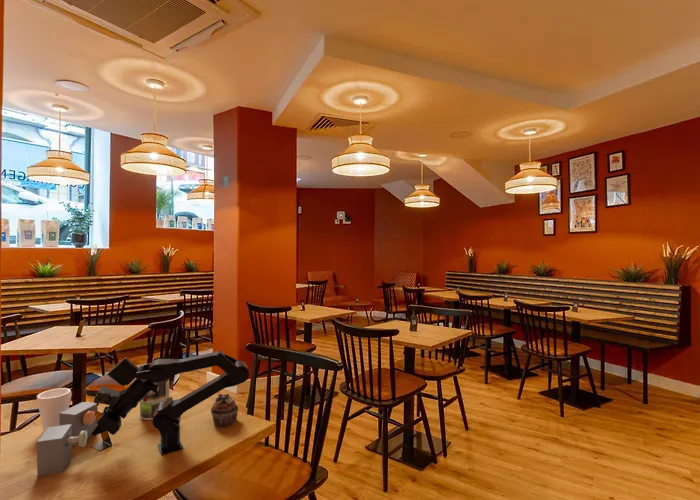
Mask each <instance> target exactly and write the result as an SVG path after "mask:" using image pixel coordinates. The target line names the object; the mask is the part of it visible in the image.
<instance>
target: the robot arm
mask: <svg viewBox="0 0 700 500" xmlns="http://www.w3.org/2000/svg"><path fill="white" fill-rule="evenodd" d="M216 366H217V367H219V368H220V369H221V370H222V371H223V372H221V374H220V375H219V376H217V377H215V378H214V379H212V380H209V381H208V382H205V384H202V385H201V386H199V387H198V388H195V389H194V390H192V391H191V392H189V393H187V394H186V395H184V396H182V397H180V398H177V399H173V397H172V396H169V398H168V399H167V400H166V401H164V402H160V404H159V406H158V407H157V408H156V410H155V413H154V416H153V420H151V421H152V422H151V423H152V425H153V427H154V428H155V429H157V430H158V432H159V435H160V443H158V444H157V448H158V450H159V451H160V455H165V454H169V453H173V452H176V451H179V450H182V449H184V445H183V444H182V441H181V425H180V424H181V419H182V418H181V417H182V415H183V414H184V413H185V412H187V411H189V410H190V409H192V408H193V407H195V406H197V405H199V404H201V403H202V402H204V401H206V400H207V399H209V398H211V397H212V396H214V395H215V394H218V393H219V392H221V391H222V390H224V389H227V388H230V387H236V386H238V385H240V384H243V383H245V382H246V381H248V379H249V376H250V370H249V368H248V364H247V362H245V361H243V360H240V359H239V360H237V359H236V358H234V357H232V356H231V355H228V354H226V353H225V352H223V351H222V350H216V351H214V352H209V353H204V354H200V355H194V356H189V357H184V358H180V359H179V358H178V359H175V358H157V359H155V360H153V361H152V362H150V363H146V364H142V365H139V366H138V365H136V364H135V363H133V362H132V361H131V359H129V358H128V357H127V356H125V357H124V358H123V359H121V360H120V361H119V362H117V363H116V364H115V365H114V366H113V367H112V368H111V369H110V370H109V371H108V372H107V377H109V378H111V379H112V380H113V381H114V382H116V383H117V384H119V385H120V386H121V387H122V386H123V387H125V386H128V385H129V386H128V387H126V388H123V389H122V390H121V391H118V390H116V389H112V388H109V387H106V386H101V387H99V389H98V391H97V393H96V394H95V396H94V398H93V403H97V404H102V405H106V406H105V407H104V408H103V410H102V412H101V414H100V416H99V418H98V421H97V424H98V425H97V426H96V428H95V429H94V430H93V432H92V433H91V435H92V437H95V436H98V435H100V434H102V433H105V432H108V433H109V434H110V435H112V436H115V434H117V433H118V432H119V431H120V429H121V427H122V419H123V420H124V419H125V418H126V417H127V416H128V414H129V413H130V412H131V411H132V410H133V409H135V408H136V407H138V404H140V401H141V400H142V399H143V398H144V397H145V396H146V395H147V394H148V393H149V392H150V391H151V390H152V391H153V392H154V393H155V394H157V393H158V390H159V387H158V386H159V382H161V381H164V380H167V379H169V380H170V379H171V378H173V377H175V376H177V375H179V374H183V373H187V372H192V371H197V370H202V369H206V368H212V367H216Z"/></svg>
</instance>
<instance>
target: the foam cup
mask: <svg viewBox="0 0 700 500" xmlns="http://www.w3.org/2000/svg"><path fill="white" fill-rule="evenodd" d="M71 391H72V390H71V389H70V388H67V387H58V388H53V389H48V390H45V391H43V392H40V393H38V394H37V395H36V403H37V405H38V411H39V415H40V420H41V421H40V422H41V426H42V431H43V433H44V432H45V431H46V430H47V428H48V427H54V426H60V420H59V413H61V412H63V411H65V410H67V409H69V408H70V401H71V397H72V395H71V393H72V392H71Z"/></svg>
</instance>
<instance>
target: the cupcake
mask: <svg viewBox="0 0 700 500" xmlns="http://www.w3.org/2000/svg"><path fill="white" fill-rule="evenodd" d="M238 412H239V406H238V405H237V403H236V401H235V400H234V398H232V396H230V394H228V393H227V394H224V395H223V394H218V395H217V396H216V397H215V400H214V402H213V404H212V406H211V407H210V413H211V417H212V421H213V424H214V426H215V427H217V428H226V427H230V426H233V425H235V423H236V422H237V418H238ZM232 424H233V425H232Z"/></svg>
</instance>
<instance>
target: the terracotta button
mask: <svg viewBox="0 0 700 500" xmlns="http://www.w3.org/2000/svg"><path fill="white" fill-rule="evenodd" d="M95 419H96V416H95V411H87V412H86V413H85V414H84V415H83V419H82V422H83V424H84V425H91V424H92V423H93V422H94V421H95Z"/></svg>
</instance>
